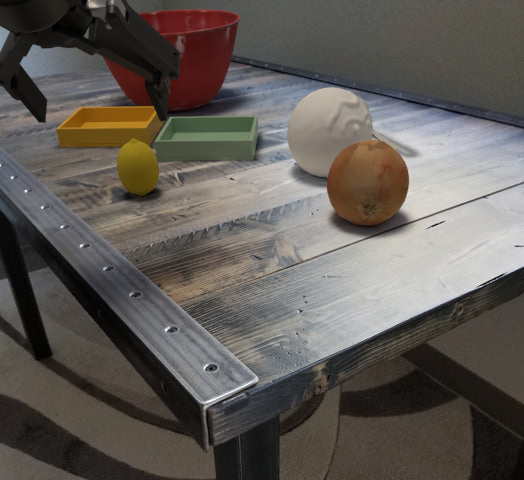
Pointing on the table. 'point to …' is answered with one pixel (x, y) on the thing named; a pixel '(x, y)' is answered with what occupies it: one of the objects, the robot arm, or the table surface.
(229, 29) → the mixing bowl
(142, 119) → the yellow tray
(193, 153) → the green tray
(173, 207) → the table surface
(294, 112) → the decorative ball
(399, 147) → the fork
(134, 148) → the lemon
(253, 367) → the table surface
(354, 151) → the onion
